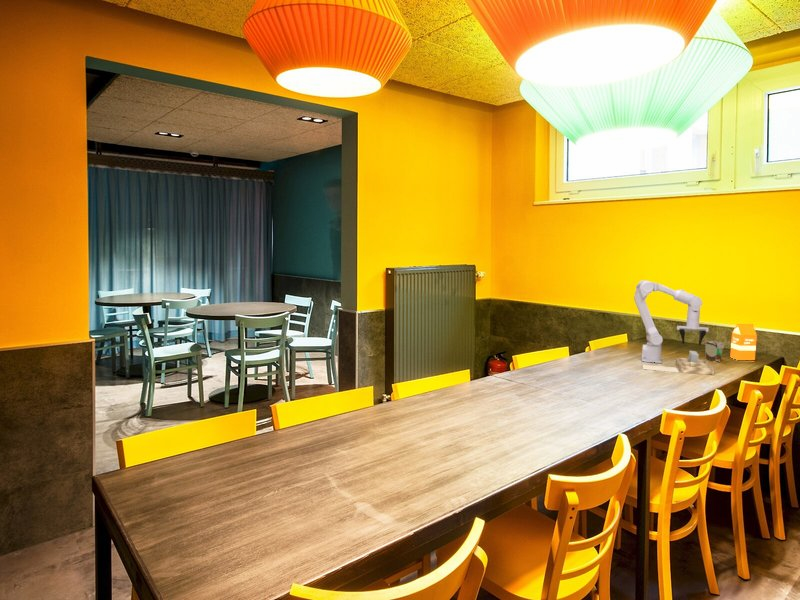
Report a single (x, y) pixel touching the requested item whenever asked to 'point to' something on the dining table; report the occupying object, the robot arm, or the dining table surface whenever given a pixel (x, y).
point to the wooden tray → (685, 367)
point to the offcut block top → (695, 364)
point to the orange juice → (743, 342)
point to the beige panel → (660, 368)
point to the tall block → (693, 356)
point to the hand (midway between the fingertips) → (691, 344)
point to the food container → (714, 350)
